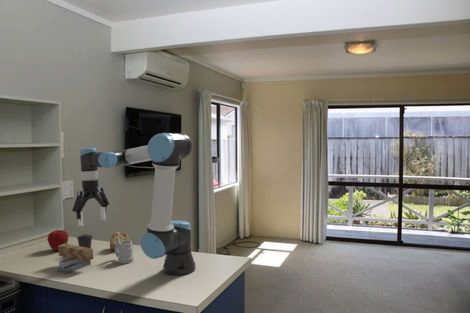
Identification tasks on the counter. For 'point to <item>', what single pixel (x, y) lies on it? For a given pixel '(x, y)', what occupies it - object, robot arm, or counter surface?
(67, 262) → the ridge
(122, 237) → the rock
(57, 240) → the apple
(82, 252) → the walnut bar
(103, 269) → the counter surface
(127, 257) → the mug
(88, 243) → the coffee cup
